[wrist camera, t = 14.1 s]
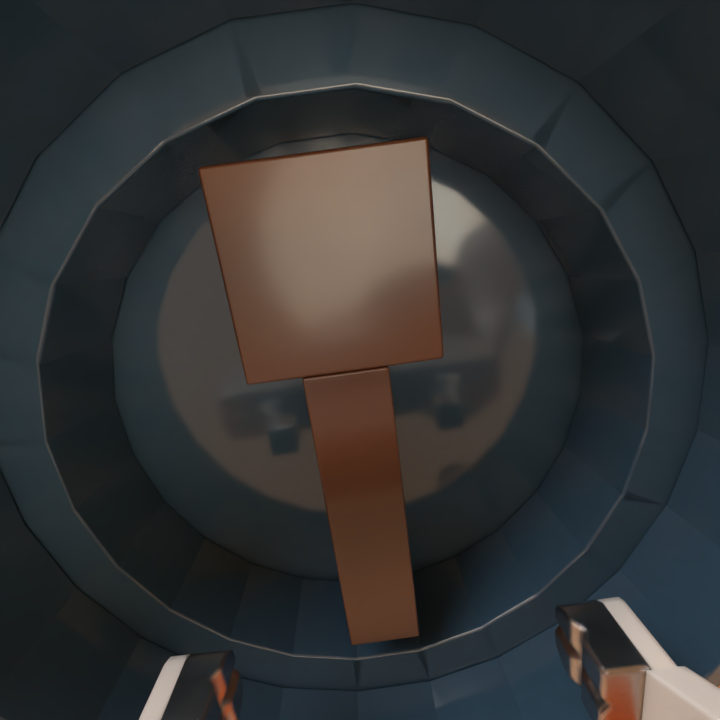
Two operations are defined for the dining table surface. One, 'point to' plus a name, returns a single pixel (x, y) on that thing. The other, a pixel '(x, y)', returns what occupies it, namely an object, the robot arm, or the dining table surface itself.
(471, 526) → the bowl
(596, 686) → the robot arm
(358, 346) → the wooden mallet
